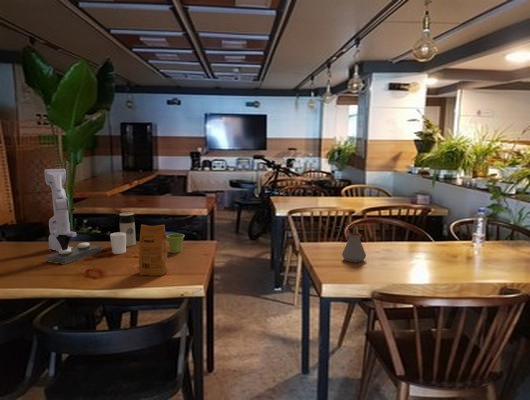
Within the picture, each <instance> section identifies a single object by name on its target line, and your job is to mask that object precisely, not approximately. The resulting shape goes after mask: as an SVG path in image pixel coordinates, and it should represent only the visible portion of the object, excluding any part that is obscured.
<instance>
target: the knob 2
mask: <svg viewBox="0 0 530 400" xmlns="http://www.w3.org/2000/svg"><path fill="white" fill-rule="evenodd" d="M90 245H91V244H90V242H85V241H84V242H79V243H77V246H78V248H80V249H83V250H84V249H87V248H88V247H89V246H90Z"/></svg>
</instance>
